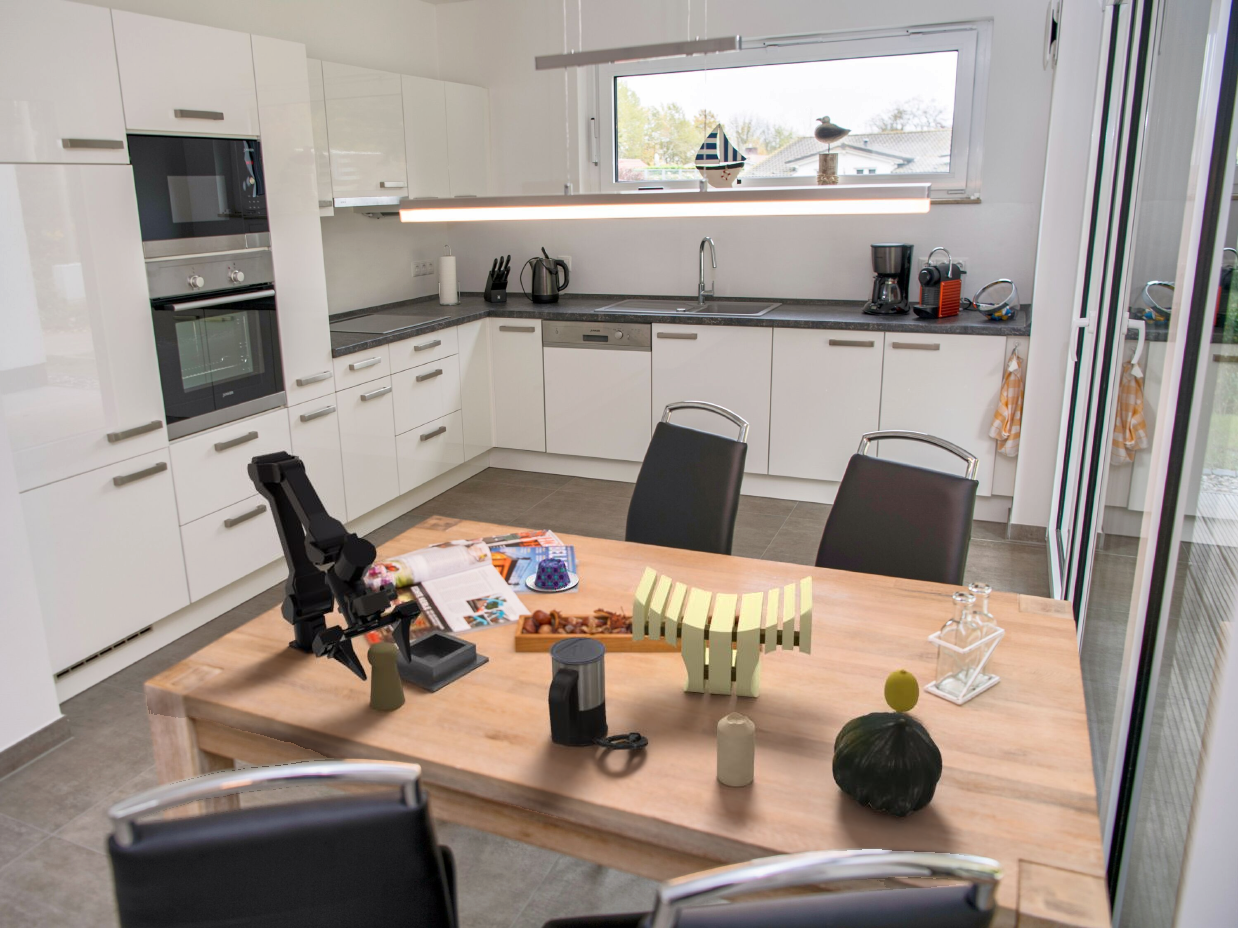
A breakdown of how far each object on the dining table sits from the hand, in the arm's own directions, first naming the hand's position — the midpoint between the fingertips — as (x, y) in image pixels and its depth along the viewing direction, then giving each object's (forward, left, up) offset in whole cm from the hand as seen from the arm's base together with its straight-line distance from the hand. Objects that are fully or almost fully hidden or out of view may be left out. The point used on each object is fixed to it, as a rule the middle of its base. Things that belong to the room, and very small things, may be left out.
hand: (388, 671), depth 156 cm
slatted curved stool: (+43, +40, -7) cm, 59 cm away
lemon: (+73, +47, -7) cm, 87 cm away
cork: (-1, 0, -7) cm, 7 cm away
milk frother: (+36, +12, -7) cm, 39 cm away
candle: (+59, +16, -7) cm, 61 cm away
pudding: (-11, +56, -7) cm, 58 cm away
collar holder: (-4, +14, -7) cm, 16 cm away
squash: (+79, +24, -7) cm, 83 cm away
